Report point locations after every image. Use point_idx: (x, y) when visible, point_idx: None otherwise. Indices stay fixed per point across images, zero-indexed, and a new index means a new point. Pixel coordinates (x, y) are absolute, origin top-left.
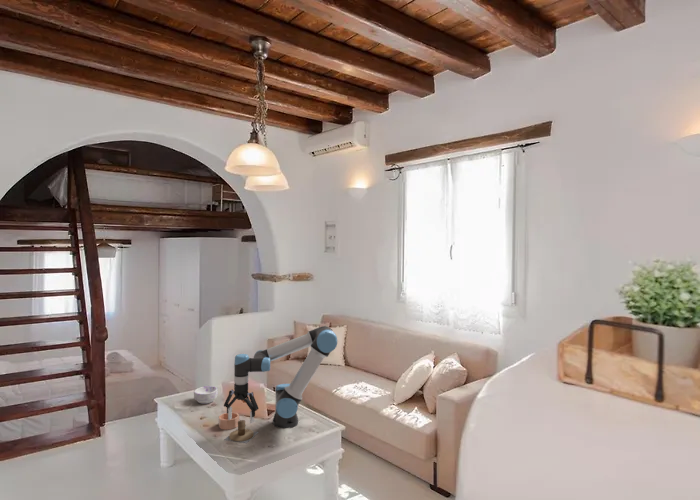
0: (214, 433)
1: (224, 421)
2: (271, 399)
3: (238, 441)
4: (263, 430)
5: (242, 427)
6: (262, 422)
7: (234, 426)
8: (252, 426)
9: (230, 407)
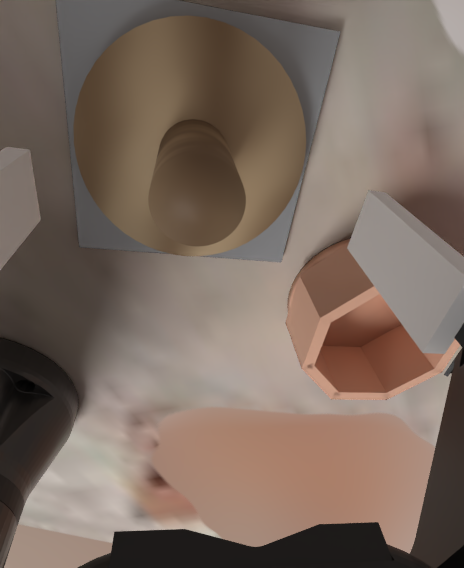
0: (442, 175)
1: None
2: None
3: (169, 16)
4: (73, 287)
5: (167, 147)
6: (148, 377)
7: (307, 276)
8: (188, 323)
9: (447, 327)
